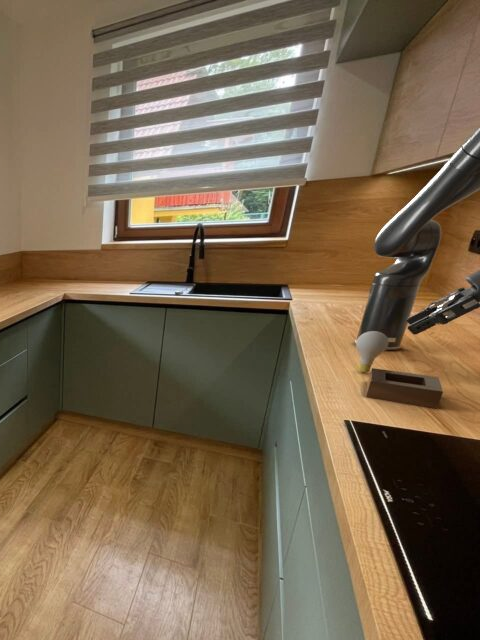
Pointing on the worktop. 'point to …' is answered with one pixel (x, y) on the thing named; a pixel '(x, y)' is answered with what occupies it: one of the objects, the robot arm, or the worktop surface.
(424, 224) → the robot arm
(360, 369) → the light bulb
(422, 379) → the socket block
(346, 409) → the worktop surface
